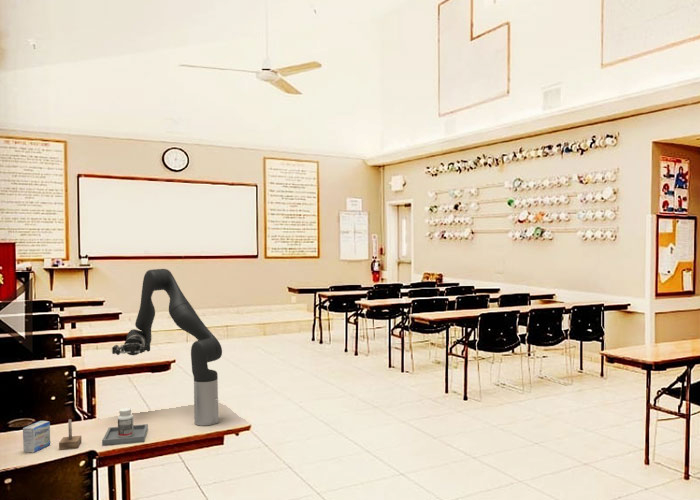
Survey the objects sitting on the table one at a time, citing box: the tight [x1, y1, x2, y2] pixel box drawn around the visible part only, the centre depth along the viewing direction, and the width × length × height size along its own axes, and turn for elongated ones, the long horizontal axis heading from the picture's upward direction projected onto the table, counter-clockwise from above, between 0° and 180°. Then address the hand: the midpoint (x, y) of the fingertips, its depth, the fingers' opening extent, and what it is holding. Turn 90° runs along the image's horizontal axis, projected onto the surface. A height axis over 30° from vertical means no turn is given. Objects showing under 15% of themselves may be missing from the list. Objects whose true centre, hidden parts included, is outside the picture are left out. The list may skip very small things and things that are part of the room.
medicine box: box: [22, 420, 51, 454], centre depth 195 cm, size 8×4×9 cm, turn 168°
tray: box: [101, 423, 149, 447], centre depth 206 cm, size 14×14×2 cm
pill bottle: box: [117, 407, 134, 438], centre depth 206 cm, size 5×5×10 cm
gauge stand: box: [58, 418, 82, 451], centre depth 197 cm, size 6×6×10 cm
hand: (129, 351), depth 219 cm, fingers open, 8 cm apart
